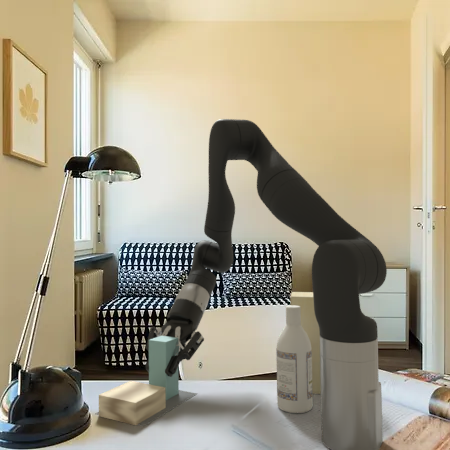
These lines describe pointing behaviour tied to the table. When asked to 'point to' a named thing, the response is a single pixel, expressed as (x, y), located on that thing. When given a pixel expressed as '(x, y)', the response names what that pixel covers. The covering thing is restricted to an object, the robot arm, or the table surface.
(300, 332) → the bath foam
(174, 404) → the mat
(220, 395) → the table surface
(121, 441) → the table surface
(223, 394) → the table surface
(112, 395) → the base block
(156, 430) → the table surface
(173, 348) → the pillar
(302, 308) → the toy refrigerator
